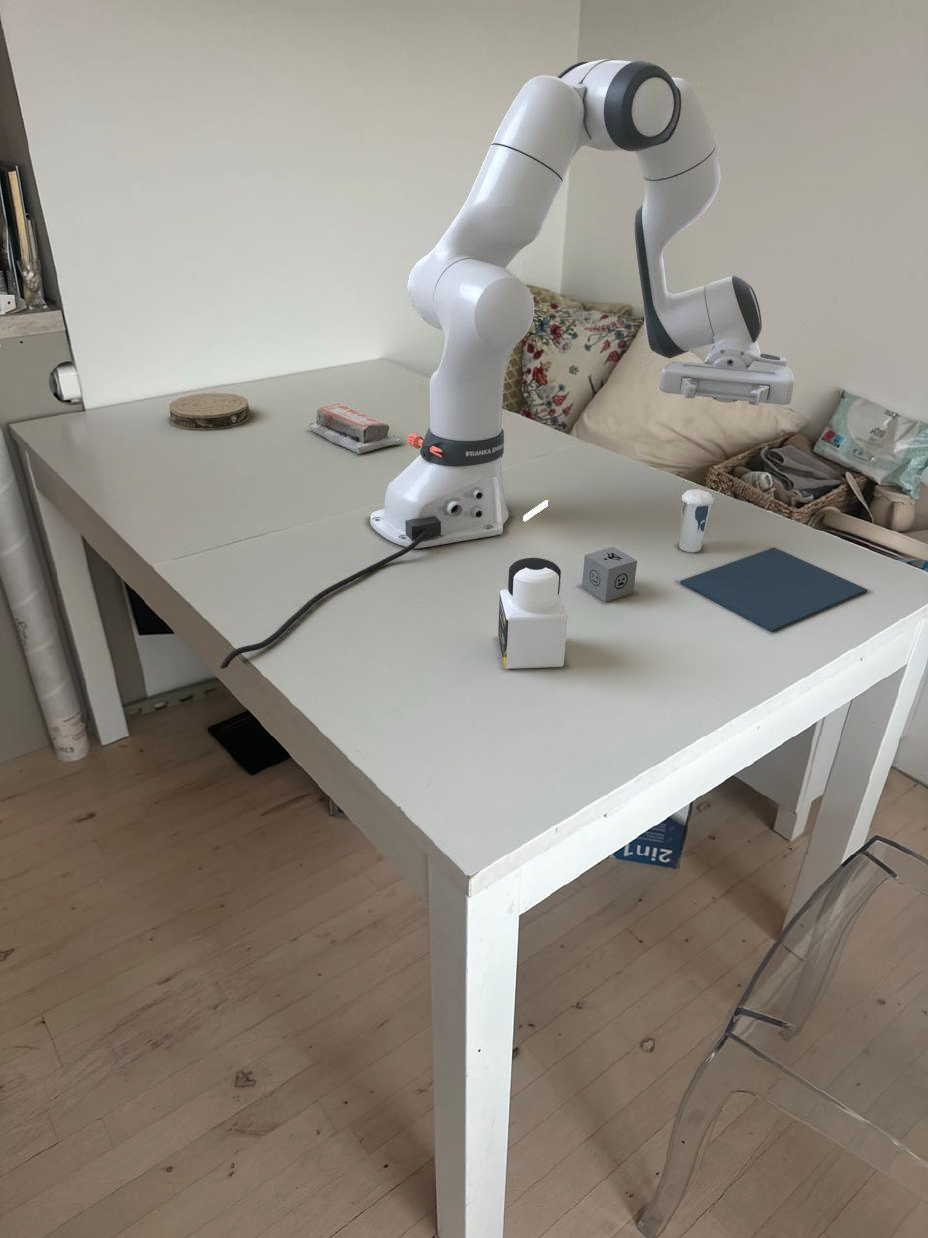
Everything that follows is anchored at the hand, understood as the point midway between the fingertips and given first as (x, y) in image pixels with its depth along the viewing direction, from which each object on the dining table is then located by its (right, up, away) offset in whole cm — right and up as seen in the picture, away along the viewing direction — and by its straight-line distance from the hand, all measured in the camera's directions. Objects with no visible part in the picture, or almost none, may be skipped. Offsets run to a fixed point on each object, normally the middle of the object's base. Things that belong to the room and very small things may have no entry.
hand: (721, 396), depth 137 cm
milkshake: (-4, -23, 0) cm, 24 cm away
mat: (+4, -29, -10) cm, 31 cm away
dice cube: (-19, -30, -12) cm, 37 cm away
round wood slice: (-92, +8, +52) cm, 106 cm away
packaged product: (-61, +2, +42) cm, 74 cm away
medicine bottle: (-31, -38, -26) cm, 55 cm away
